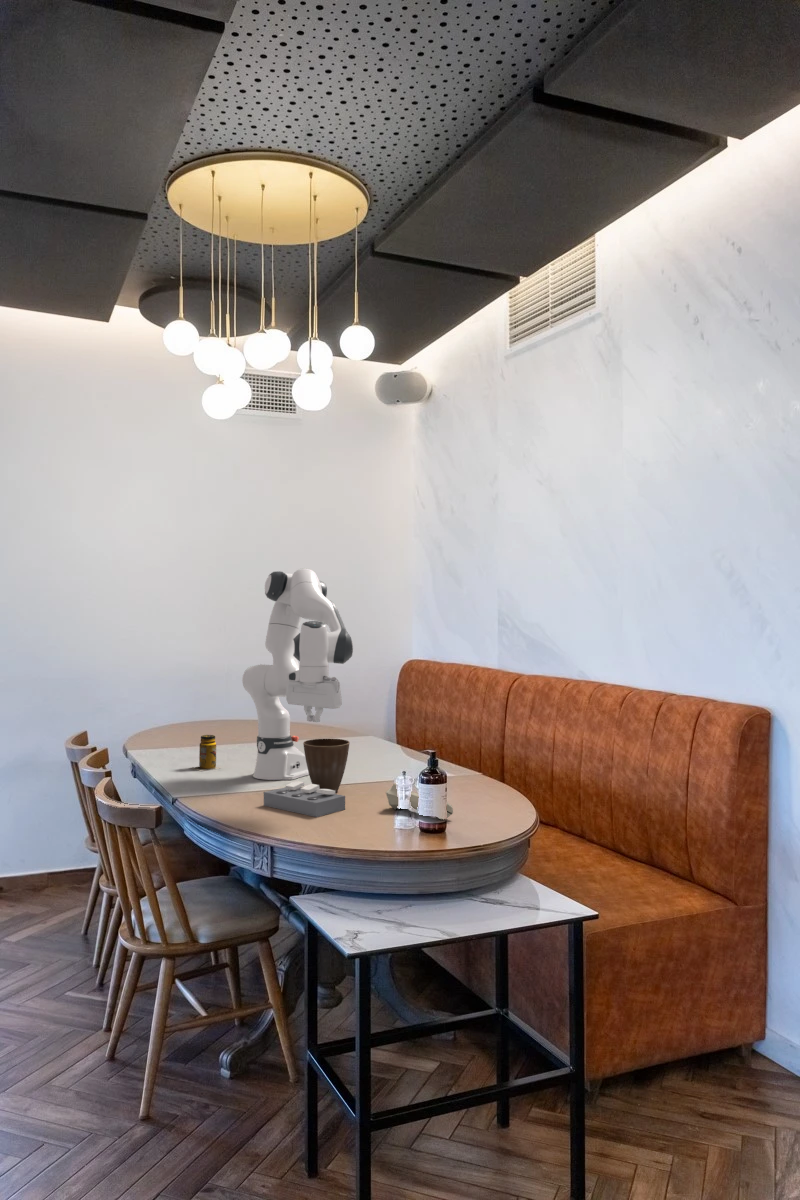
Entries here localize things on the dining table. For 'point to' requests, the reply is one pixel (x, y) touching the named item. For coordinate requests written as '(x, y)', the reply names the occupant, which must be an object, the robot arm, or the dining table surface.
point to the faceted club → (413, 799)
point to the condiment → (207, 753)
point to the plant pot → (326, 761)
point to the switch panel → (304, 801)
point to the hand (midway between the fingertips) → (313, 721)
